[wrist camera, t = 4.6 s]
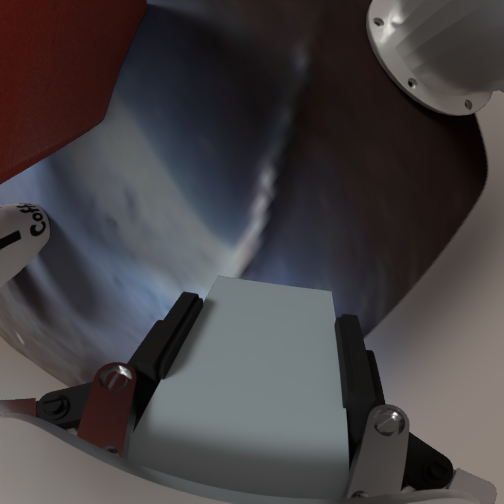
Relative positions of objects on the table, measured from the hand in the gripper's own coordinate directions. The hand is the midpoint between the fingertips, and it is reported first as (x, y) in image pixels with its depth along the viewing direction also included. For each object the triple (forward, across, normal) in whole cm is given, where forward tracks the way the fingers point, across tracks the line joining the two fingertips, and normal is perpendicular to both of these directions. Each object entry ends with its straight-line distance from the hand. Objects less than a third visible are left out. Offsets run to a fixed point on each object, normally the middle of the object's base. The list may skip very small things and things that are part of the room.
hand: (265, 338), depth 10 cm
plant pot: (+13, +21, -16) cm, 29 cm away
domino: (+3, 0, 0) cm, 3 cm away
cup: (+12, +28, +2) cm, 30 cm away
